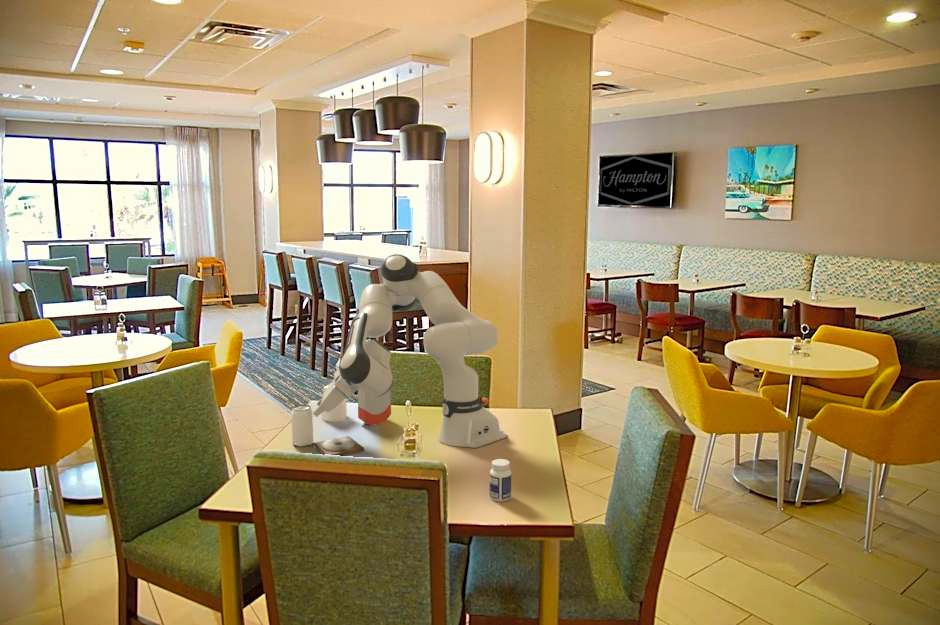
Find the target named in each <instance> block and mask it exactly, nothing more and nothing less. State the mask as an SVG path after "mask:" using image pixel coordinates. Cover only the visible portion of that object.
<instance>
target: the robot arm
mask: <svg viewBox="0 0 940 625" xmlns="http://www.w3.org/2000/svg"><path fill="white" fill-rule="evenodd" d="M380 271H381V272H380V273H381V276H382V282H381V283H380V284H379V283H372V284H369V285H367V286H365V287H364V289H363V290H362V293H361V296H360V299H359V307H358V313H357V314H356V315H355V316H354V317H353V319H352V320H351V322H350V326H349V329H348V334H347V338H346V342H345V347H344V352H343V354H342V356H341V359H340V360H339V361H340V362H339V366H338V369H337V370H336V371H335V372H334V373H333V380H332V382H330V383H328V385H329V386H328V387H327V389H326V391H325V394H324V396H323V395H322V397H321V398H320V399H319V400H318V401H317V403H316V404H317V406H318V407H317V408H316V409H315V410H314V411H313V412H312V415H314V417H316V418H318V417H319V416H321V413H322V412H324V411H326V412H330V411H331V410H333V409H334V408H335V407H336V406H338V405H339V404H340V403H341V402H342V401H343V400H345V399H346V400H347V398H348V399H349V398H351V397H352V396H353V394H355V392H358V389H359V388H361V389H362V390H364V391H366V392H367V393H369V394H371V395H373V396H375V397H379V396H382V395H384V394H385V393H387V392H388V391H389V390H390V389H391V388H392V386H393V384H394V375H393V372H392V371H391V366H390V358H391V355H392V352H391V351H390V349H389V348H388V347H387V346H386V345H384V344H383V343H381V342H380V341H379V340H378V339H376V338H379V337H382V336H385V335H386V334H387V333H388V332H390V330H391V328H392V325H393V312H405V311H408V310H410V309H412V308H413V307H415V305H416V304H417V301H419V303H420V306H421V307H422V308H423V310H424V312H425V314H426V315H427V317H428V319H429V320H430V322H431V323H432V324H433V325H434V326H430V327H429V328H427V329H426V330H425V332H424V335H423V339H422V340H423V348H424V350H425V352H426V353H427V354H428V355H429V357H431V358H433V360H435V361H436V362H437V364H438V365H439V367H440V369H441V372H442V377H443V378H442V380H443V396H442V405H441V406H442V407H441V408H442V422H441V429H440V433H439V435H438V436H439V437H438V440H439V442H441V443H442V444H445V445H447V446H452V447H467V448H471V449H472V448H473V449H477V448H479V447H480V448H481V447H482V446H486V445H488V444H491V443H494V442H497V441H499V440H502V439H504V438H507V433H506V431H505V430H504V429H502V428H500V423H499V419H498V417H497V416H496V415H495V414H493V413H492V412H491V411H489V410H488V409H487V408H486V407H484V405H485V406H486V405H489V403H490V402H489V401H490V400H489V399H488V398H487V397H482V396H480V395H479V374H478V373H477V372H476V370H475V369H474V368H472V367H470V366H468V365H467V364H466V362H465V356H470V355H471V356H472V355H478V354H483V353H486V352H488V351H490V350H493V349H495V347H496V345H497V344H498V340H499V333H498V329H497V327H496V326H495V324H494V323H493V322H492V321H490V320H487V319H484V318H481V317H479V316H478V315H475V313H473V312H471V311H470V310H468V309H467V308H466V307H464V306H463V305H462V304H461V302H459V300H458V299H457V298H456V296H455V295H454V293H453V291H452V290H451V288H450V287H449V285H448V283H447V282H446V281H445V280H444V279H443V278H442V277H441V276H440V275H439V274H438V273H436V272H435V271H433V270H425V271H422V272H421V271H420V270H419V266H418V264H417V263H414V262H413V261H412V260H411V259H410V258H408V256H405V255H403V254H399V253H398V254H395V253H394V254H392V255H389V256H387V257H385V259H384V260H383V261H382V264H381V270H380ZM367 338H370V339H371V340H369V341H367ZM372 338H373V339H372ZM390 391H391V390H390Z"/></svg>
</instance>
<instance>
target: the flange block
mask: <svg viewBox="0 0 940 625" xmlns="http://www.w3.org/2000/svg"><path fill="white" fill-rule="evenodd" d="M312 445H314V446H315V447H316V448H317V449H318V450H320V451H321V452H322V453H323V454H331V455H342V456H346V455H351V454H355V453H361V452H364V451H365V447H364V446H362V445H361V444H360V443H359V442H358V441H356V440H355V439H354V438H352V437H351V436H349V435H348V436H343V437H335V438H330V439H328V440H322V441H317V442H313V443H312ZM314 446H313V447H314ZM315 447H314V448H315ZM316 448H315V449H316ZM317 449H316V450H317ZM318 450H317V451H318ZM322 453H321V454H322ZM323 454H322V455H323Z"/></svg>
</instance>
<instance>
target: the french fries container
mask: <svg viewBox="0 0 940 625" xmlns="http://www.w3.org/2000/svg"><path fill="white" fill-rule="evenodd" d="M391 415H392V400H391V390H389V391H388V392H387V393H385V394H384V395H382V396H379V397H375V396H373V395H371V394H369V393H367V392H366V391H364V390H362V389H361V388H359V389H358V390H357V418H358V419H359V420H361V421H362V422H363V423H365V424H366V423H367V425H369V426H371V427H373V426H376V425H375V424H377V425H380V424H379V423H381V424H384V423H383V422H385V423H386V422H387V420H388V419H389V417H390V416H391ZM372 425H373V426H372Z"/></svg>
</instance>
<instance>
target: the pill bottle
mask: <svg viewBox="0 0 940 625" xmlns="http://www.w3.org/2000/svg"><path fill="white" fill-rule="evenodd" d="M510 465H511V464H510V461H509V460H508V459H506V458H505V459H503V458H497V459H494V460H492V461H491V469H490V471H489V498H490V500H491V501H495V502H499V503H500V502H501V503H502V502H507V501H510V499H511V498H512V471H511V469H510V467H511V466H510Z"/></svg>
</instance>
